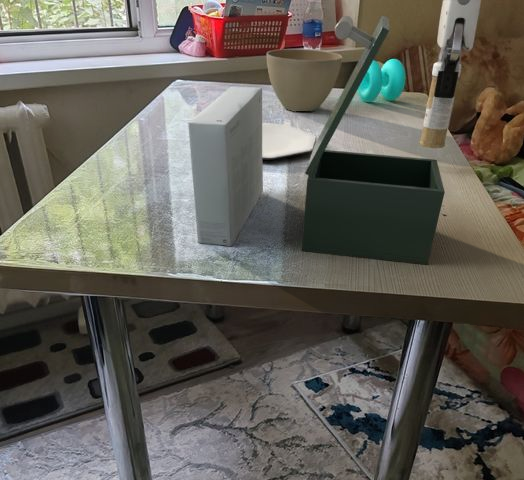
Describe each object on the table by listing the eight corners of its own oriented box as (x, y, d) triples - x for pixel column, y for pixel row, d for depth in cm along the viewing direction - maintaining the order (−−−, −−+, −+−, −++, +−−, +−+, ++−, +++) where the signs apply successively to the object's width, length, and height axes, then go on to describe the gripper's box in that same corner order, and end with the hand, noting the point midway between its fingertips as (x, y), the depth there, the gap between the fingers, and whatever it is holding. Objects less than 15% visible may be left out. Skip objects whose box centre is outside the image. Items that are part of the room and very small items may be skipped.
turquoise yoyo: (352, 97, 149) (357, 56, 143) (383, 96, 152) (389, 55, 146) (370, 106, 142) (376, 63, 136) (403, 104, 145) (410, 62, 139)
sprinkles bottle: (421, 141, 101) (435, 60, 94) (446, 144, 100) (463, 62, 92) (417, 147, 98) (432, 63, 90) (443, 150, 97) (461, 65, 89)
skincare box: (231, 189, 91) (231, 84, 81) (263, 192, 90) (266, 87, 80) (192, 243, 74) (186, 119, 65) (231, 247, 73) (231, 123, 64)
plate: (268, 124, 124) (268, 117, 123) (338, 152, 109) (339, 144, 108) (176, 138, 113) (176, 131, 112) (240, 172, 98) (240, 163, 97)
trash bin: (422, 226, 81) (436, 159, 75) (427, 264, 71) (444, 191, 65) (311, 214, 83) (317, 149, 77) (301, 251, 73) (307, 178, 67)
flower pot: (349, 114, 134) (356, 59, 126) (282, 119, 128) (285, 61, 121) (316, 98, 147) (320, 47, 140) (254, 102, 141) (255, 49, 134)
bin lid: (388, 18, 67) (351, -4, 66) (389, 30, 57) (345, 4, 56) (319, 147, 77) (287, 129, 77) (310, 176, 67) (272, 156, 67)
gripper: (502, -35, 76) (471, 106, 87) (484, -35, 90) (458, 86, 100) (447, -36, 77) (422, 103, 88) (437, -36, 91) (417, 84, 101)
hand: (442, 93), depth 94 cm, fingers closed on sprinkles bottle, 4 cm apart
